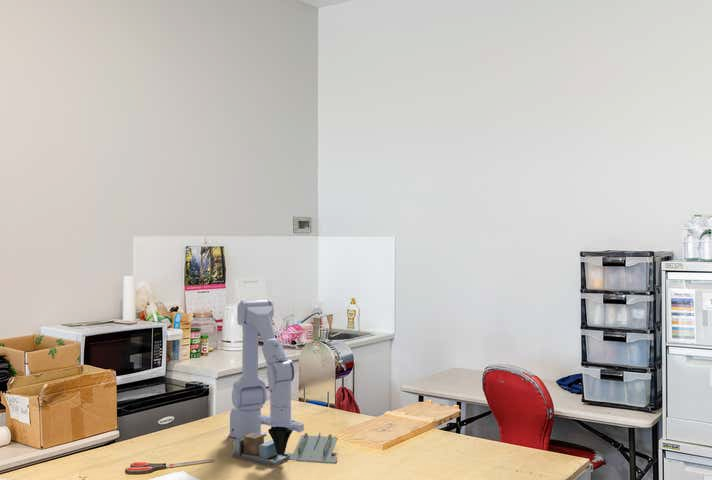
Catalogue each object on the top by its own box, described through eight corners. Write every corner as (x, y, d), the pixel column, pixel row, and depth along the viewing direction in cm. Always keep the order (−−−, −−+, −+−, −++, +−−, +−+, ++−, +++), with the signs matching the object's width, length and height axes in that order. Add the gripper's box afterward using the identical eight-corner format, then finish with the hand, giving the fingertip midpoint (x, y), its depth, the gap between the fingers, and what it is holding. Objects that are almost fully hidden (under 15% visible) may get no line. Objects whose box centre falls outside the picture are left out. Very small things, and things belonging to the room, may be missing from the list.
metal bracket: (295, 427, 201) (344, 430, 198) (297, 444, 203) (345, 447, 200) (281, 456, 188) (334, 460, 185) (283, 474, 189) (335, 478, 186)
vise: (231, 457, 192) (231, 440, 192) (249, 449, 198) (249, 433, 198) (273, 467, 184) (273, 449, 184) (290, 458, 190) (289, 441, 190)
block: (244, 453, 192) (243, 436, 191) (253, 449, 195) (253, 432, 195) (254, 456, 189) (254, 438, 189) (263, 452, 193) (263, 434, 193)
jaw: (259, 457, 188) (259, 444, 188) (271, 451, 192) (271, 439, 192) (266, 458, 186) (266, 446, 186) (278, 453, 191) (278, 441, 191)
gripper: (251, 404, 187) (251, 452, 187) (292, 412, 179) (292, 462, 180) (267, 398, 193) (267, 445, 193) (308, 405, 185) (308, 454, 186)
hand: (280, 453), depth 187 cm, fingers closed
